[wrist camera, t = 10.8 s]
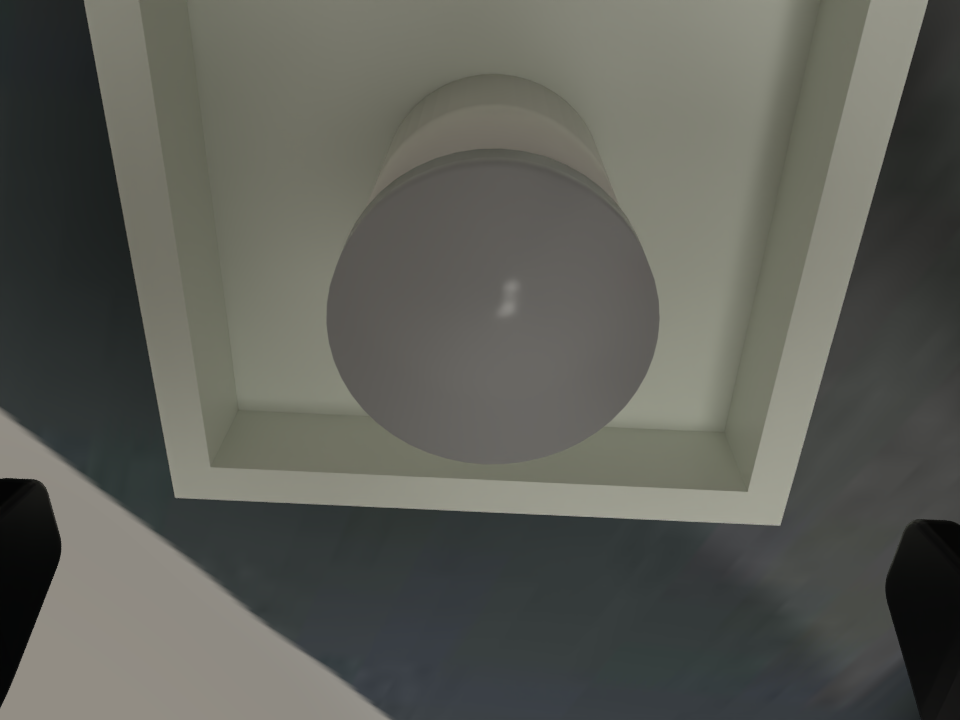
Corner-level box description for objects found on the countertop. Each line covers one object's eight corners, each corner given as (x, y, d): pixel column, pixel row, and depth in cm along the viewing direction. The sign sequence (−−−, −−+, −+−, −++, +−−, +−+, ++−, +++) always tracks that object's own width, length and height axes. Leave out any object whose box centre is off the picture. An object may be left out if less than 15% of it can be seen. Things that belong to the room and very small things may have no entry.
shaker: (620, 75, 18) (684, 177, 12) (593, 295, 21) (635, 470, 15) (376, 63, 18) (317, 159, 12) (380, 285, 21) (333, 457, 14)
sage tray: (896, -188, 16) (984, -201, 13) (745, 442, 24) (780, 525, 21) (125, -221, 16) (39, -242, 13) (216, 418, 24) (175, 497, 21)
